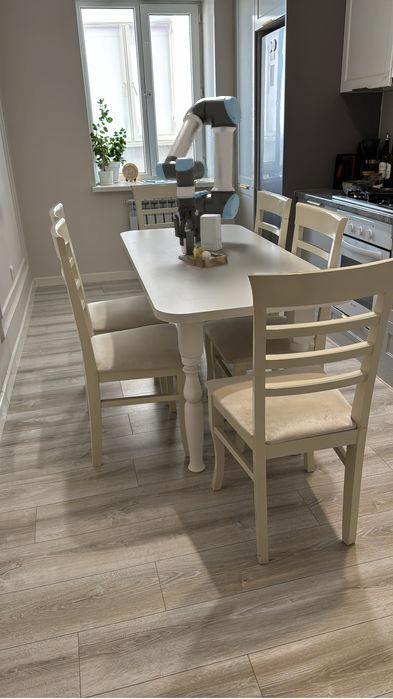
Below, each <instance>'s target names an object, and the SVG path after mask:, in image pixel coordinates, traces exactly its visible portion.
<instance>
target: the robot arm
mask: <svg viewBox="0 0 393 699" xmlns="http://www.w3.org/2000/svg"><path fill="white" fill-rule="evenodd" d="M241 119H242V109H241V105H240V102H239V100H238V99H237V97H235V96H227V95H225V96H224V95H223V96H216V97H215V96H214V97H204V98H201V99H200V100H197V101H196V102H195V103H193V105H191V107H190V108H189V109H188V110H187V111H186V113H185V115H184V116H183V119H182V126H181V127H180V130H179V131H178V132H177V136H176V137H175V139H174V142H173V144H172V146H171V148H170V149H169V152H168V154H167V156H166V157H165V160H164V161H159V162H157V163H156V165H155V169H154V170H155V175H156V178H158V179H159V180H162V181H165V180H166V181H174V180H175V181H176V196H177V197H176V199H177V207H178V208H177V211H176V212H175V213H172V215H171V217H172V218H173V226H174V237H176V238H179V245H180V247H181V253H182V254H183V253H184V254H183V255H186V238H184V234H185V230H189V229H190V230H194V245H195V248H196V247H197V246H196V244H197V243H198V242H200V243H201V235H200V216H202V215H204V214H220V216H221V220H231V219H234V217H236V216H237V213H238V211H239V207H240V197H239V194H236V190H235V188H234V187H233V152H234V150H233V146H234V144H233V143H234V142H233V140H234V131H236V129H237V125H239V124H240V123H241ZM206 126H211V127H210V128H211V131H213V133H214V137H213V140H214V141H213V142H214V143H213V144H214V146H213V148H214V153H213V154H214V156H213V157H214V158H213V164H214V165H213V167H214V169H213V171H214V172H213V187H211V188H212V189H210V191H208V190H199V191H196V189H195V186H196V184H195V180H199V181H200V180H202V179H204V178H205V177H206V176H207V174H208V171H209V170H208V166H207V164H206V163H205V162H204V161H202V160H194V158H193V157H187V155H188V153H189V151H190V149H191V147H192V146H193V143H194V141H195V138H196V137H197V134H198V132H201V131H202V129H203V127H206Z"/></svg>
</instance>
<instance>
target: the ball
mask: <svg viewBox="0 0 393 699" xmlns="http://www.w3.org/2000/svg"><path fill="white" fill-rule="evenodd" d="M210 257H211V252H210V251H209V250H204V252H203V253H202V258H203V259H209V258H210Z"/></svg>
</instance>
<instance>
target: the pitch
mask: <svg viewBox="0 0 393 699" xmlns="http://www.w3.org/2000/svg"><path fill="white" fill-rule="evenodd" d="M210 254H211V257H210V258H209V259H203V258H202V257H198V258H195V257H194V254H190V255H186V254H181V255H177V256H178V260H182V261H184V262H186V263H187V264H189V265H192V266H197V267H200V268H203V269H204V268H205V269H206V268H210V267H214V266H220V265H225V264H228V260H229V258H228V255H227V254H222V253H215V252H210Z"/></svg>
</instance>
